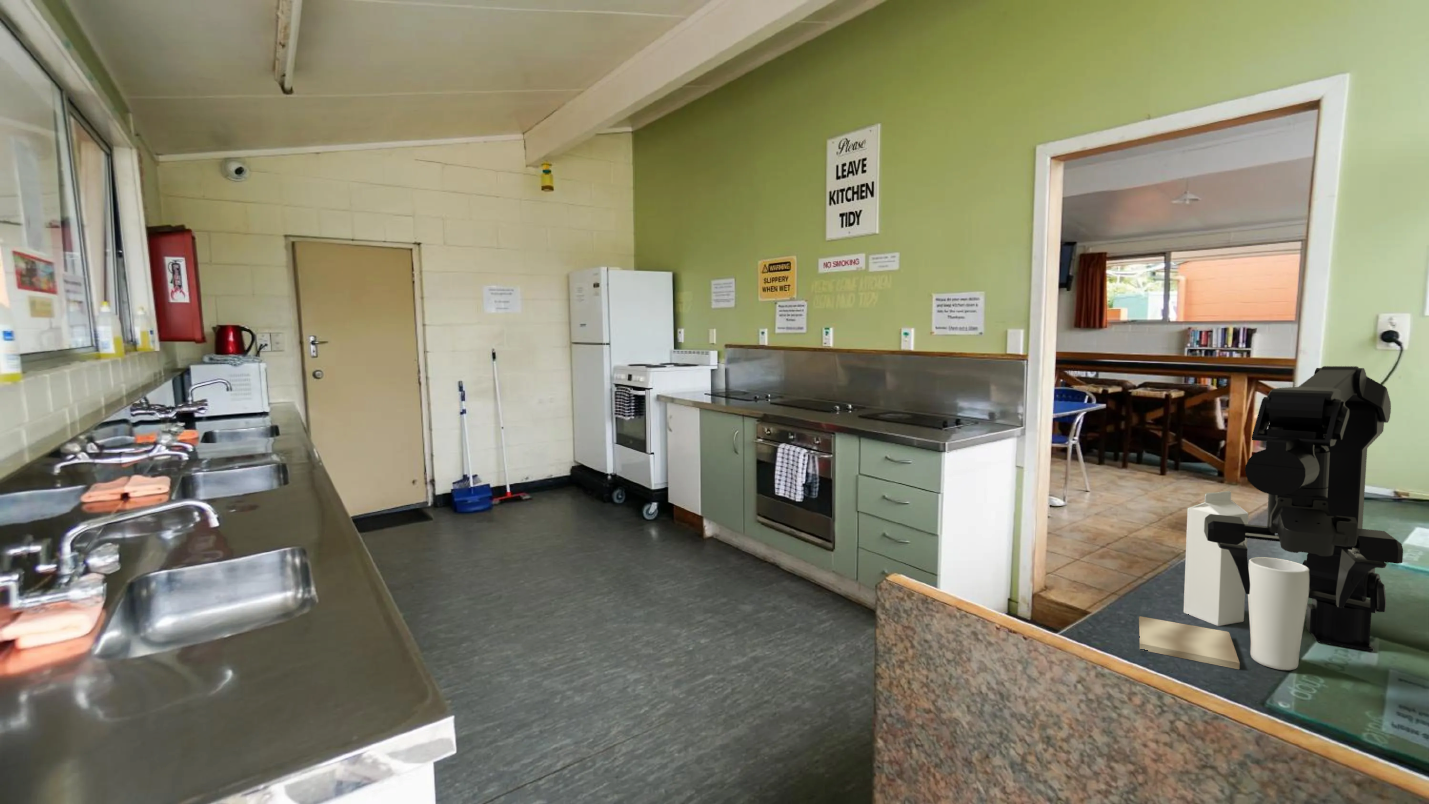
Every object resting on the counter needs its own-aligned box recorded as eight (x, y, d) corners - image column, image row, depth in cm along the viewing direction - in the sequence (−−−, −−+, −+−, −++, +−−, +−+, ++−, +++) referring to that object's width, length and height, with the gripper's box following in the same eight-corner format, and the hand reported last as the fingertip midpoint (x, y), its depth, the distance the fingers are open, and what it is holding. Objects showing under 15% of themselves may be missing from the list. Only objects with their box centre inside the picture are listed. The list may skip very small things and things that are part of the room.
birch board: (1228, 637, 102) (1228, 631, 102) (1239, 669, 92) (1239, 662, 92) (1139, 621, 108) (1139, 616, 108) (1139, 649, 98) (1140, 643, 98)
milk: (1244, 622, 108) (1251, 494, 106) (1217, 626, 106) (1224, 497, 104) (1207, 608, 114) (1213, 487, 112) (1181, 612, 112) (1188, 489, 110)
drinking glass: (1317, 676, 90) (1322, 573, 88) (1262, 672, 91) (1267, 570, 90) (1284, 654, 96) (1289, 557, 95) (1233, 650, 97) (1237, 555, 96)
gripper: (1214, 488, 82) (1209, 606, 83) (1424, 505, 71) (1415, 639, 72) (1205, 474, 91) (1201, 580, 92) (1390, 487, 81) (1383, 606, 82)
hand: (1291, 599), depth 84 cm, fingers open, 9 cm apart
